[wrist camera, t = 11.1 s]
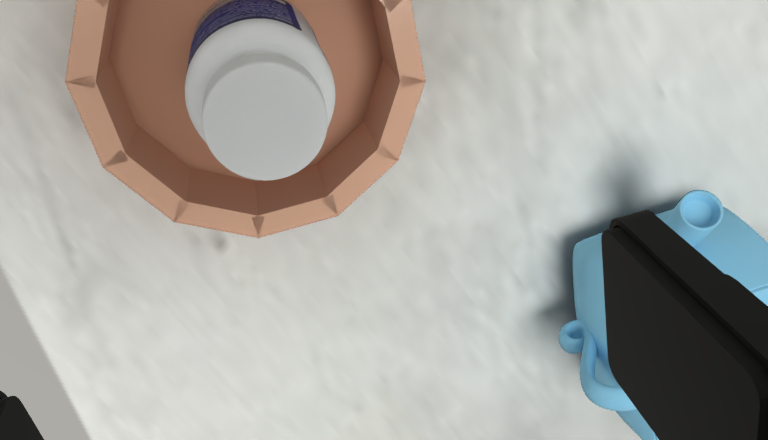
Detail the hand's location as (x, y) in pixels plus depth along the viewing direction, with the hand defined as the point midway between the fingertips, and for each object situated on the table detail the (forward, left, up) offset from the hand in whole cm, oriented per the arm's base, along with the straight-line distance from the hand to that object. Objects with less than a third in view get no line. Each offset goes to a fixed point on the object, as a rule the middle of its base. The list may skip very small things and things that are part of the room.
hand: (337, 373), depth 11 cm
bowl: (0, -1, -23) cm, 23 cm away
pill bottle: (0, -1, -22) cm, 22 cm away
